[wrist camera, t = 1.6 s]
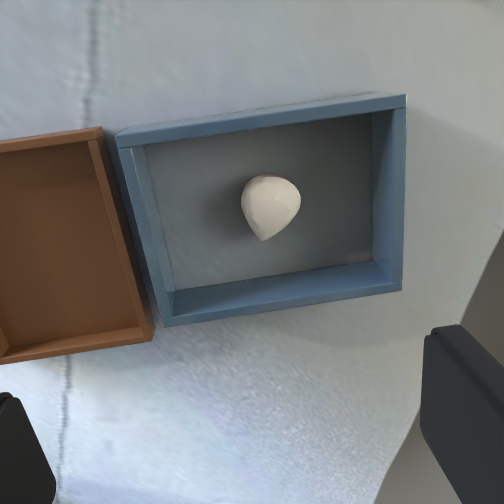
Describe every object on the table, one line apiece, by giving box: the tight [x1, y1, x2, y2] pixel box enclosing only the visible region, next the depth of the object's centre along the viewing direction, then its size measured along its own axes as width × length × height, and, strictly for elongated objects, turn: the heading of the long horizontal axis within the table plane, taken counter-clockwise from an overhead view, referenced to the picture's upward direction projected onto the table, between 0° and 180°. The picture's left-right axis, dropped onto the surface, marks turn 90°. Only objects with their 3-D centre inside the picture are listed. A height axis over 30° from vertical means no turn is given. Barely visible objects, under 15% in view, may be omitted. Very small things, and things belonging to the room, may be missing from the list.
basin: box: [115, 92, 407, 328], centre depth 29 cm, size 14×18×4 cm
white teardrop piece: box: [241, 174, 301, 241], centre depth 29 cm, size 4×5×2 cm
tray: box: [0, 127, 155, 365], centre depth 29 cm, size 16×12×2 cm
